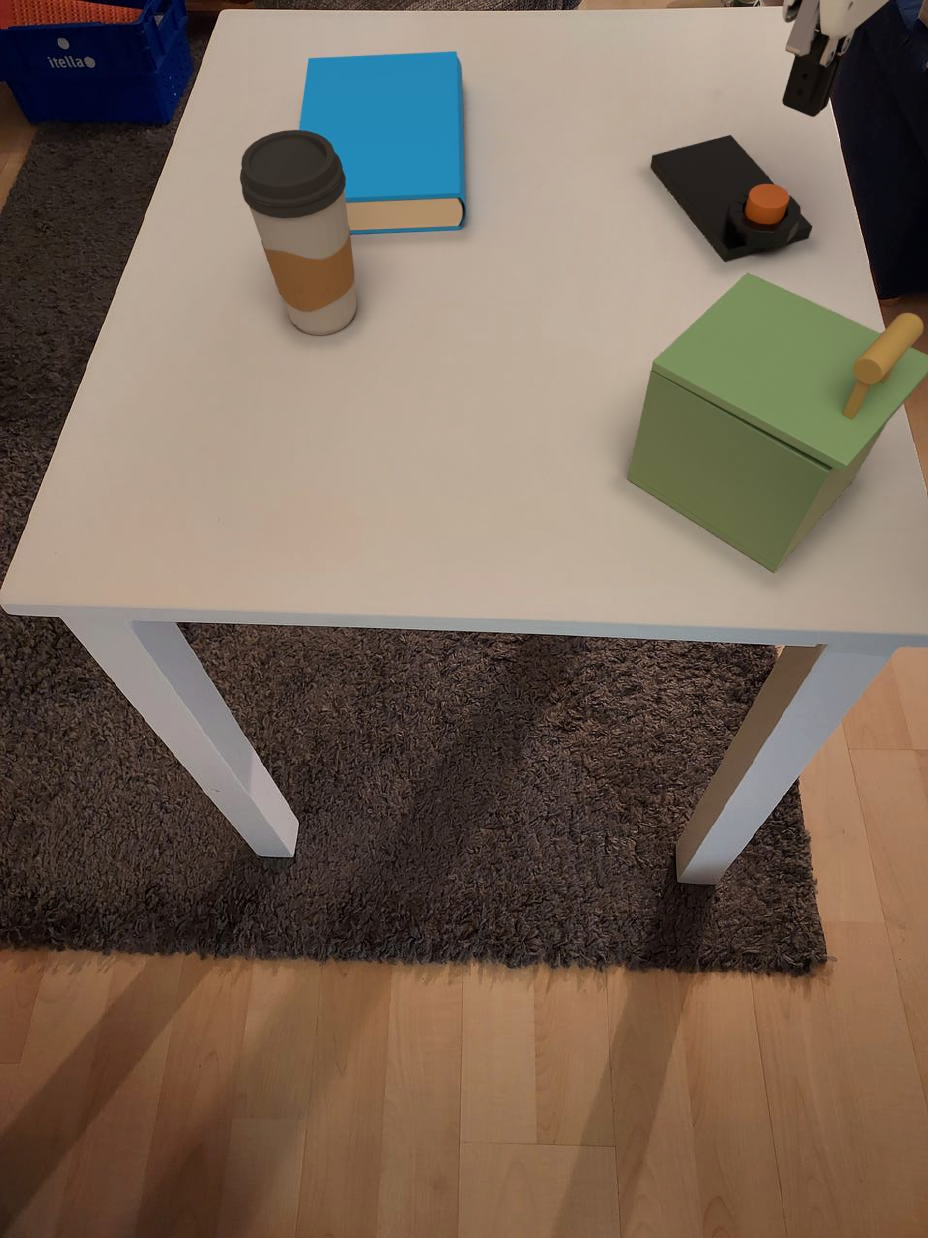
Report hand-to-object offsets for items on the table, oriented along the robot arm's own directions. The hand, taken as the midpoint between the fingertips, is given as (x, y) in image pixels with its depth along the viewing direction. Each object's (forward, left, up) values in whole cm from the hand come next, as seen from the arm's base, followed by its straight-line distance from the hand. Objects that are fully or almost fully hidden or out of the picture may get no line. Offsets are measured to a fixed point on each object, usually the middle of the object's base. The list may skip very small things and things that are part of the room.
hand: (803, 105), depth 68 cm
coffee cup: (+38, +18, -14) cm, 44 cm away
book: (+40, -6, -14) cm, 42 cm away
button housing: (+4, -7, -14) cm, 16 cm away
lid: (-2, +28, -1) cm, 28 cm away
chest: (-2, +28, -14) cm, 31 cm away
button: (0, -2, -11) cm, 11 cm away
